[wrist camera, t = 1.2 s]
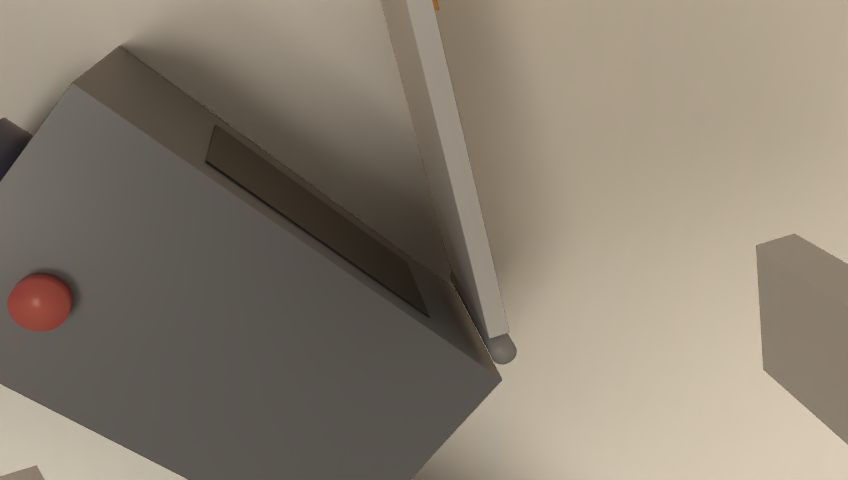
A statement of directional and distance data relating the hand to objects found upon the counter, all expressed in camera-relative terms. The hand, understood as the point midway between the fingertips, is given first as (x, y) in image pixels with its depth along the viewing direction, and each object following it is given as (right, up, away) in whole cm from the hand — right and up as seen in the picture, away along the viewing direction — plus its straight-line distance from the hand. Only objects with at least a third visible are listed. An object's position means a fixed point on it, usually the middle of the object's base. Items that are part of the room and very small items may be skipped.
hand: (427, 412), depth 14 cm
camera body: (-8, +2, +20) cm, 22 cm away
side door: (0, +7, +20) cm, 21 cm away
